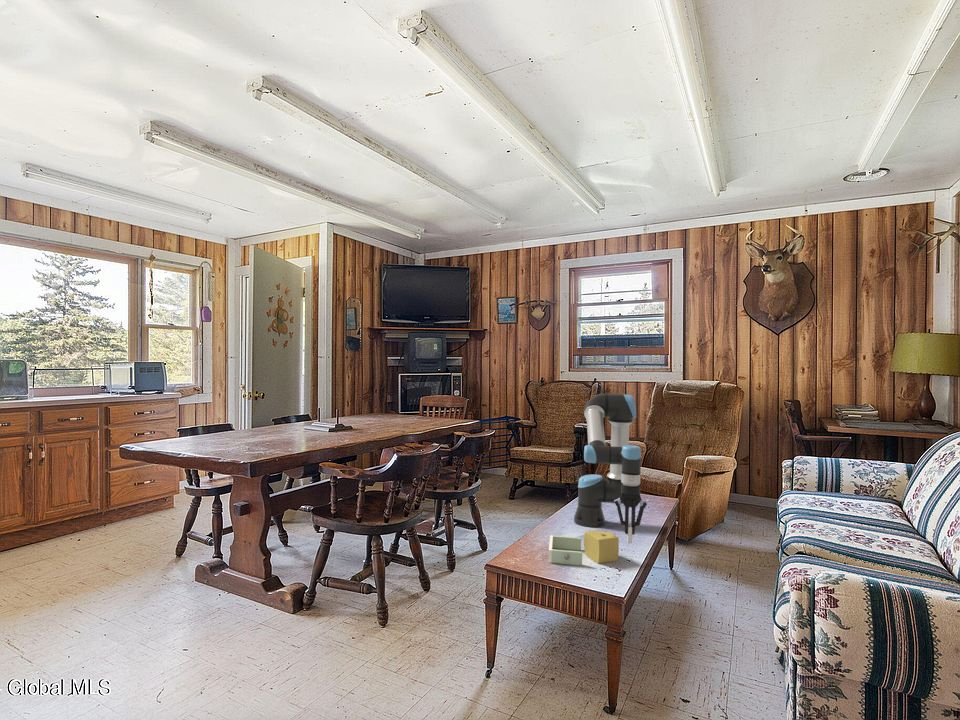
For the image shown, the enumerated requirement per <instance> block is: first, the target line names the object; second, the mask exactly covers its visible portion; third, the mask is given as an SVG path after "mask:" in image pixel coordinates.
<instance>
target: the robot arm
mask: <svg viewBox="0 0 960 720" xmlns="http://www.w3.org/2000/svg"><path fill="white" fill-rule="evenodd" d="M583 413H584V418H585V419H586V428H587V429H586V430H587V431H586V432H587V445H584V448H583V449H584V450H583V459H584V462H585V463H589V464H599V465H600V464H602V465H603V464H606V465H609V469H610V470H609V472H608V473H607V474H606V478H603V475H601V474H585V475H582V476H580V478H579V479H578V485H577V488H578V490H577V491H578V495H577V508H576V511H575V513H574V515H573V516H574V517H573V522H574V523H575V524H577V525H579V526H583V527H589V528H590V527H591V528H596V527H597V528H598V527H602V526H604V525H605V524H606V519H605V515H604V511H603V505H602V503H605V504H606V503H607V504H608V503H610V504H615V505H616V508H617V513H618V517H619V522H620V525H622V526H624V533H625V535H627V537H626V539H627V540H626V542H627V544H633V535H635V534H636V527H637V526H639V527H640V525H641V520H642V517H643V515H644V510H645V508H646V507H647V504H648V503H647V502H646V501H644V500H643V499H642V497H641V485H640V484H641V463H642V448H641V447H640V446H639V445H632V444H630V425H632V424H633V422H634V420H635V419H636V418H637V409H636V401H635V398H634V396H633V395H631V394H626V393H599V394H596V395H594V396H592V397H591V398H590V399H589V400H588V401H587V402H586V404H585V405H584V409H583ZM604 418H608V419H607V421H608V422H609V424H610V425H611V426H610V427H611V431H610V446H609V445H606V436H605V427H604V426H605V425H604ZM621 505H623V506H624V508H625V509H624V517H623V513H622V508H621ZM638 505H640V506H639V510H638V512H637V513H638V514H637V517H636V511H637V509H636V507H638ZM630 508H631V512H629V510H630ZM630 513H631V519H630V520H631V521H629V517H630ZM629 522H630V524H629Z"/></svg>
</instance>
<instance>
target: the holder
mask: <svg viewBox="0 0 960 720" xmlns="http://www.w3.org/2000/svg"><path fill="white" fill-rule="evenodd" d="M549 563H550V564H551V563H552V564H561V565H571V566H572V565H574V566H583V551H582V537H577V536H575V537H574V536H566V535H565V536H563V535H562V536H561V535H551V534H550V535H549V544H548V564H549Z"/></svg>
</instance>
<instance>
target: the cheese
mask: <svg viewBox="0 0 960 720" xmlns="http://www.w3.org/2000/svg"><path fill="white" fill-rule="evenodd" d="M619 542H620V539H619V536H618V535H616V534H614V533H612V532H610V531H602V530H586V531H584V535H583V547H584V554H585V556H586V557H587V558H589V559H591V560H592V561H593V562H596V563H597V564H605V563H610V562H617V561H619V553H620V551H619V547H620V546H619V545H620V543H619Z"/></svg>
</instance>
